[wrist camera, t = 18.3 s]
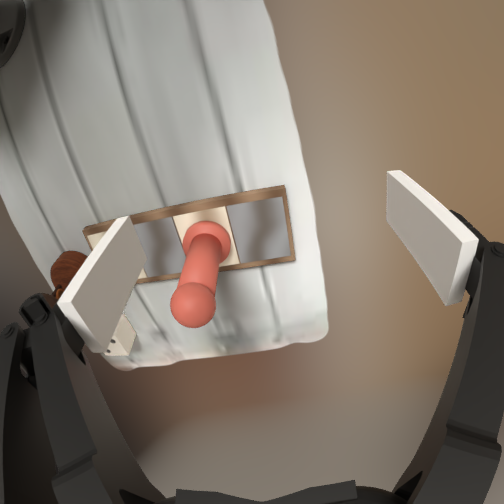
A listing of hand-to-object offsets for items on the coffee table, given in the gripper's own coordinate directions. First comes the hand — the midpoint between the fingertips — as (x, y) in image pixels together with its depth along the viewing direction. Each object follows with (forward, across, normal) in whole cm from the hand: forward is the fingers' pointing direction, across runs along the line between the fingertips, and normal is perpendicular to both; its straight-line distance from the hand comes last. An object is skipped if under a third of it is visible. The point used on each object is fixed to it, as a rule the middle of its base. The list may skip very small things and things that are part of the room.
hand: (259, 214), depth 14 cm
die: (+27, -35, -32) cm, 54 cm away
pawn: (+25, -10, -15) cm, 31 cm away
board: (+27, -14, -15) cm, 34 cm away
